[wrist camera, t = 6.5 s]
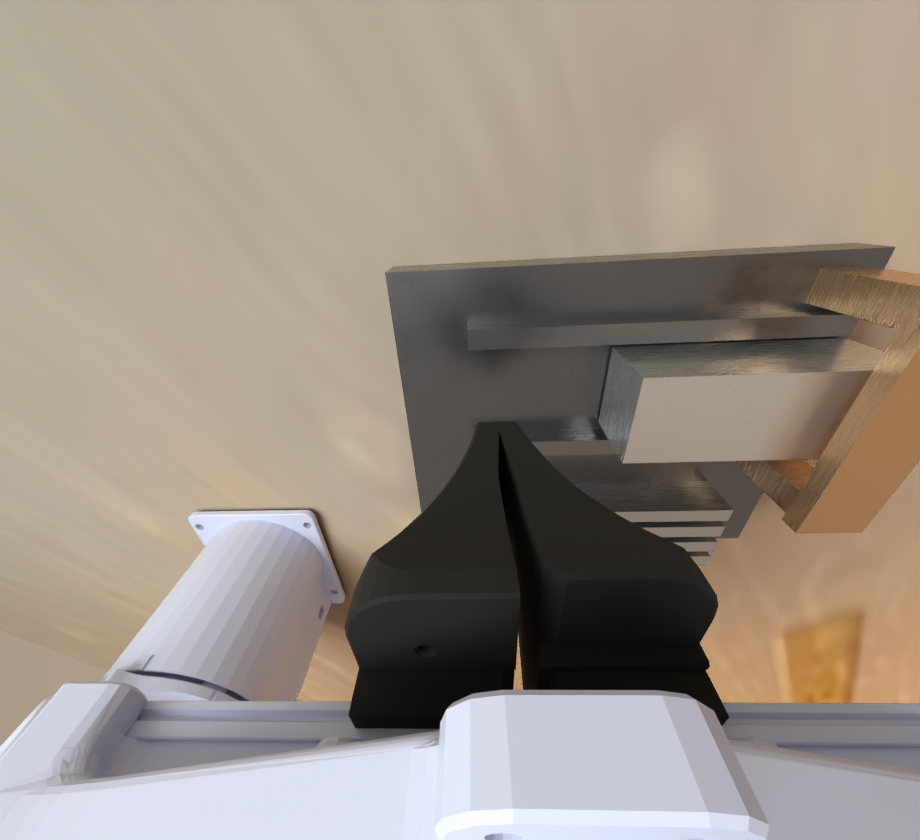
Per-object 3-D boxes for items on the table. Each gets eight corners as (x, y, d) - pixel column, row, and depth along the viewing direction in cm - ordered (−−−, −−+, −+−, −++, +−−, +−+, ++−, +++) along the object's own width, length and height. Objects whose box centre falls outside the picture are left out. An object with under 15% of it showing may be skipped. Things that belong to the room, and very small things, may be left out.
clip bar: (803, 416, 16) (868, 458, 13) (598, 422, 16) (622, 463, 13) (846, 338, 14) (932, 368, 11) (612, 347, 14) (643, 378, 12)
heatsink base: (721, 517, 21) (799, 614, 16) (428, 521, 22) (415, 614, 17) (855, 242, 13) (1085, 264, 8) (392, 266, 14) (350, 299, 9)
